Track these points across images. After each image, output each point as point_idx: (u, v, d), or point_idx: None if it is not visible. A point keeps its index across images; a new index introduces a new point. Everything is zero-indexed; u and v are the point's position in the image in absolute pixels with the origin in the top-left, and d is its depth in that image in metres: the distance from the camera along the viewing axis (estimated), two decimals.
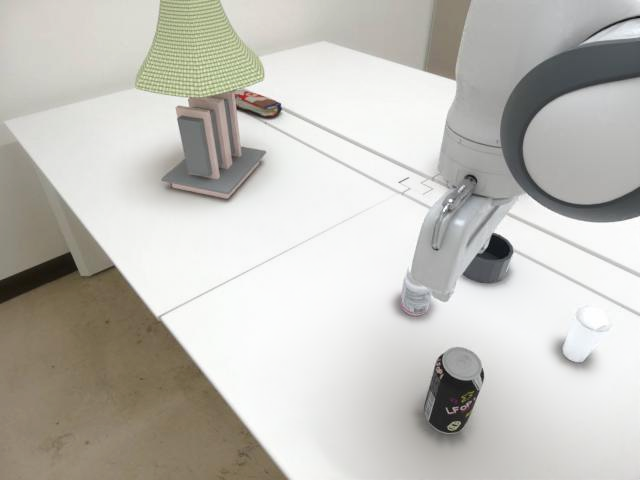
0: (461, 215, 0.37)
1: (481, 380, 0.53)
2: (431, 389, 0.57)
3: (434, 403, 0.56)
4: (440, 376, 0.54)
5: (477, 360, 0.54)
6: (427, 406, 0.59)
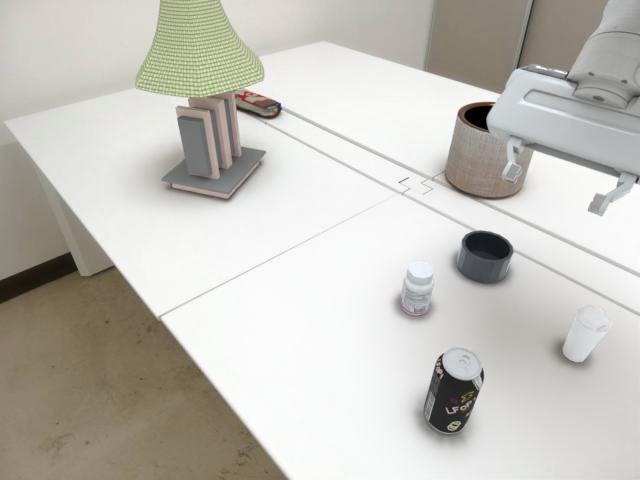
0: None
1: (481, 380, 0.53)
2: (431, 389, 0.57)
3: (434, 403, 0.56)
4: (440, 376, 0.54)
5: (477, 360, 0.54)
6: (427, 406, 0.59)
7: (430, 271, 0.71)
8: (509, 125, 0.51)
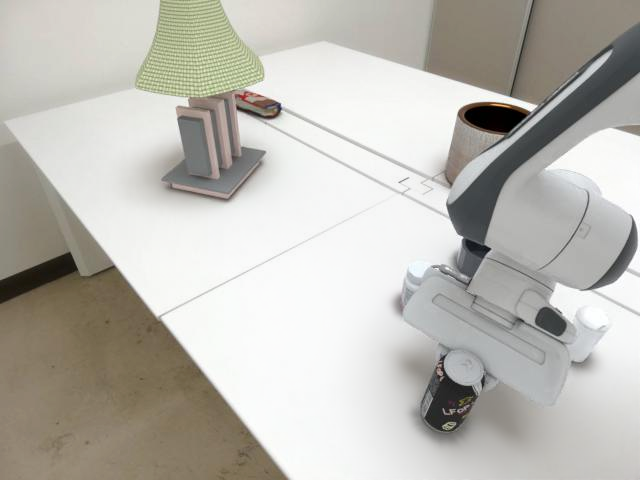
0: (442, 278, 0.59)
1: (481, 386, 0.52)
2: (430, 388, 0.56)
3: (431, 402, 0.56)
4: (440, 378, 0.53)
5: (479, 365, 0.53)
6: (424, 403, 0.59)
7: None
8: (419, 324, 0.59)
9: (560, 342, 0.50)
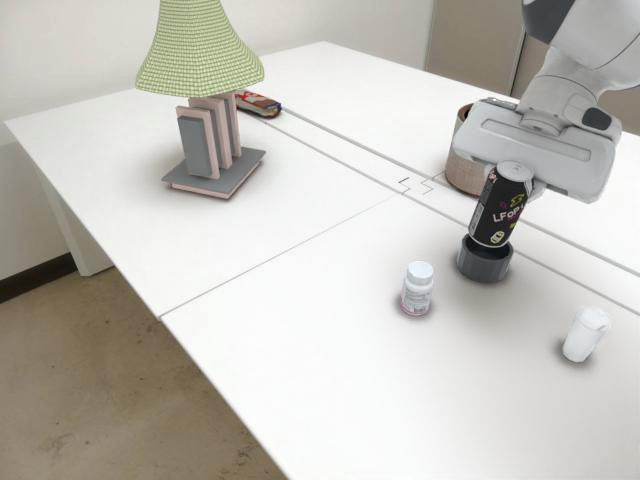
0: None
1: (531, 186, 0.57)
2: (480, 200, 0.61)
3: (482, 213, 0.61)
4: (493, 180, 0.58)
5: (529, 169, 0.58)
6: (473, 221, 0.64)
7: (430, 271, 0.71)
8: (469, 147, 0.63)
9: (605, 137, 0.55)
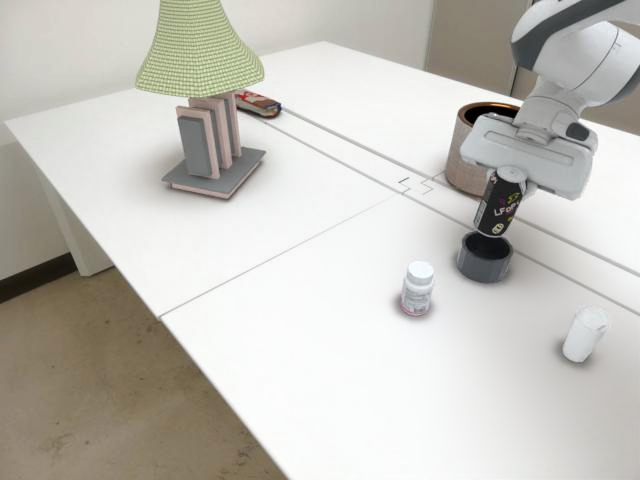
0: None
1: (525, 186, 0.70)
2: (484, 198, 0.74)
3: (485, 209, 0.74)
4: (494, 182, 0.71)
5: (523, 172, 0.71)
6: (478, 215, 0.77)
7: (430, 271, 0.71)
8: (474, 154, 0.77)
9: (584, 146, 0.68)
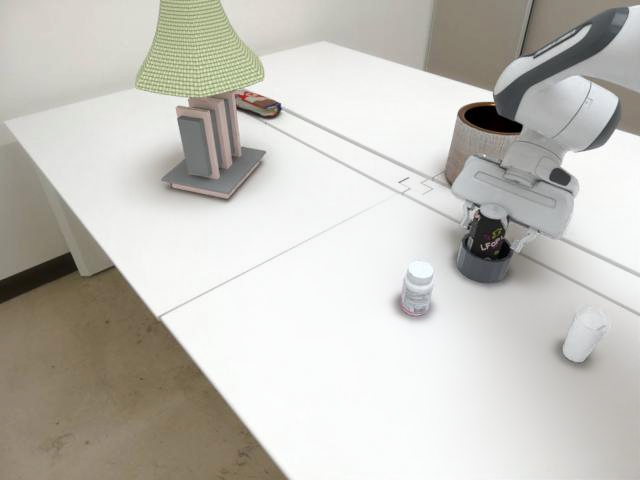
0: None
1: (507, 222, 0.76)
2: (470, 234, 0.80)
3: (472, 244, 0.80)
4: (478, 219, 0.77)
5: (504, 209, 0.77)
6: None
7: (430, 271, 0.71)
8: (464, 193, 0.81)
9: (566, 190, 0.73)
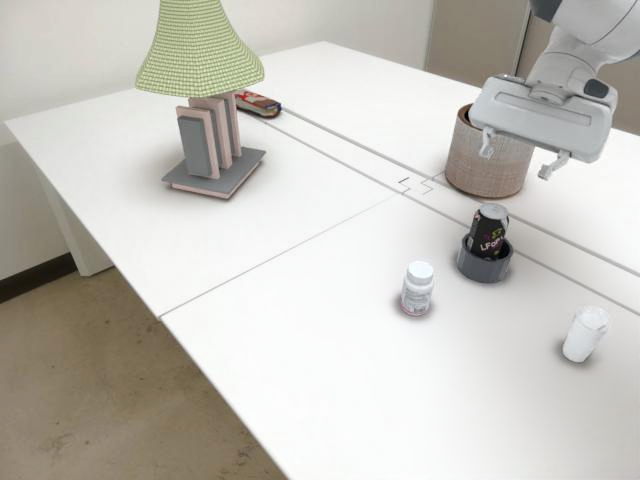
0: None
1: (507, 222, 0.76)
2: (470, 234, 0.80)
3: (472, 244, 0.80)
4: (478, 219, 0.77)
5: (504, 209, 0.77)
6: None
7: (430, 271, 0.71)
8: (484, 117, 0.72)
9: (604, 104, 0.64)
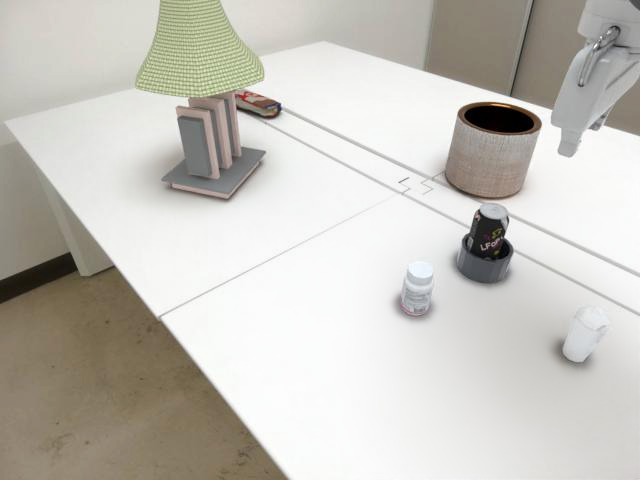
0: (607, 55, 0.43)
1: (507, 222, 0.76)
2: (470, 234, 0.80)
3: (472, 244, 0.80)
4: (478, 219, 0.77)
5: (504, 209, 0.77)
6: None
7: (430, 271, 0.71)
8: (593, 121, 0.48)
9: None
